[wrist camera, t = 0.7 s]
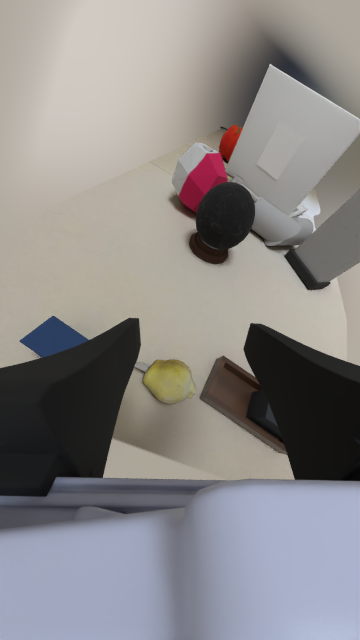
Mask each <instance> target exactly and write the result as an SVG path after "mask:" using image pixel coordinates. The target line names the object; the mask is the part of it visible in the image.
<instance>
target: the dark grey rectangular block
mask: <svg viewBox="0 0 360 640" xmlns="http://www.w3.org/2000/svg"><path fill="white" fill-rule="evenodd" d="M246 417H247V418H248V419H250V420H251V421H253V422H254V423H256V424H257V425H259V426H260V427H262V428H263V429H264V430H266V431H267V432H269V433H270V434H272V435H273V436H275V437H276V438H279V439H282V437H281V434H280V431H279V428H278V426H277V423H276V420H275V418H274V415H273V413H272V410H271V408H270V405H269V403H268V400H267V398H266V396H265V394H264V392H263V390H262V391H254V392H252V396H251V399H250V403H249V407H248V411H247V415H246Z"/></svg>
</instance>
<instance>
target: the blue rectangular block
mask: <svg viewBox="0 0 360 640" xmlns="http://www.w3.org/2000/svg"><path fill="white" fill-rule="evenodd" d="M87 341H89V340H88V339H87V338H85V337H84V336H82V335H81V334H79V333H78V332H76V331H75V330H74V329H72V328H71V327H69V326H68V325H66V324H65V323H63V322H62V321H60V320H59V319H58V318H56V317H55V316H52V317H51V318H49V319H48V320H47V321H45V322H44V323H43V324H41V325H40V326H39V327H37V328H36V329H35V330H33V331H32V332H31V333H29V334H28V335H27V336H25V337H24V338H23V339H21V340H20V342H21V343H23V344H24V345H25V346H27V347H28V348H30V349H31V350H33V351H34V352H35V353H37V354H38V355H40V356H41V357H46V356H50V355H53V354H56V353H58V352H61V351H64V350H67V349H70V348H72V347H75V346H77V345H80V344H82V343H84V342H87Z"/></svg>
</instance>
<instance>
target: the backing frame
mask: <svg viewBox="0 0 360 640" xmlns="http://www.w3.org/2000/svg"><path fill="white" fill-rule="evenodd" d="M254 391H262V388H261V386H260V384H259V382H258V380H257V379H256V378H255V377H254V376H253V375H251V374H250V373H248V372H247V371H245V370H244V369H242V368H241V367H239V366H238V365H236V364H235V363H233V362H232V361H230V360H229V359H227V358H226V357H224V356H222V357H220V358H218V359H217V360H216V362H215V364H214V366H213V369H212V371H211V373H210V376H209V378H208V380H207V382H206V385H205V387H204V389H203V392H202V394H201V396H200V399H202V400H203V401H204V402H206V403H207V404H209V405H210V406H212V407H213V408H215V409H216V410H218V411H219V412H221V413H222V414H223V415H225V416H226V417H228V418H229V419H231V420H232V421H234V422H235V423H237V424H238V425H240V426H241V427H242V428H244V429H245V430H247V431H248V432H250V433H251V434H253V435H254V436H256V437H257V438H258V439H260V440H261V441H263V442H264V443H266V444H267V445H269V446H270V447H272V448H273V449H275V450H276V451H277V452H279V453H282V454H286V455H287V452H286V449H285V446H284V443H283V440H282V439H279V438H276V437H275V436H273V435H272V434H270V433H269V432H267V431H266V430H264V429H263V428H262V427H260V426H259V425H257V424H256V423H254V422H253V421H251V420H250V419H248V418H247V417H246V415H247V411H248V407H249V403H250V399H251V396H252V392H254Z"/></svg>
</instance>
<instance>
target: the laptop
mask: <svg viewBox="0 0 360 640" xmlns="http://www.w3.org/2000/svg"><path fill="white" fill-rule="evenodd" d="M359 134H360V119H359V118H357V117H355V116H354V115H352V114H350V113H349V112H347V111H346V110H344V109H342V108H341V107H339V106H337V105H336V104H334V103H333V102H331V101H329V100H328V99H326V98H324V97H323V96H321V95H319V94H318V93H316V92H315V91H313V90H311V89H310V88H308V87H307V86H305V85H303V84H302V83H300V82H298V81H297V80H295V79H293V78H292V77H290V76H289V75H287V74H285V73H284V72H282V71H280V70H279V69H277V68H275V67H274V66H272V65H271V64H270V66H269V68H268V70H267V73H266V75H265V77H264V80H263V82H262V85H261V87H260V89H259V92H258V94H257V96H256V99H255V101H254V104H253V106H252V109H251V111H250V113H249V115H248V118H247V120H246V122H245V125H244V127H243V129H242V132H241V134H240V137H239V139H238V141H237V144H236V146H235V148H234V151H233V153H232V155H231V158H230V160H229V162H228V165H227V167H226V169H225V171H227V172H229V173H230V174H232V175H234V176H235V177H237V178H238V179H237V182H236V183H238V184H240V185H242V186H244V187H245V188H246V189H247V190H248V191H249V192H250V194H251V196H252V198H253V200H254V202H257V201H258V199H259V198H261V197H263V198H264V199H265V200H267V201H268V202H270V203H271V204H272V205H274V206H275V207H276V208H278V209H279V210H281V211H282V212H283V213H285V214H286V215H288V216H289V217H290V218H292V217H295V216H298V215H300V214H302V213H304V212H306V210H307V208H305V207H304V206H303V205H302V204H300V203H301V202H302V201H303V199H304V198H305V197H306V196H307V195H308V194H309V192H310V191H311V190H312V189H313V188H314V187H315V185H316V184H317V183H318V182H319V181H320V179H321V178H322V177H323V176H324V175H325V174H326V173H327V171H328V170H329V169H330V168H331V167H332V166H333V164H334V163H335V162H336V161H337V160H338V159H339V157H340V156H341V155H342V154H343V153H344V151H345V150H346V149H347V148H348V147H349V146H350V144H351V143H352V142H353V141H354V140H355V139H356V138H357V136H358V135H359Z"/></svg>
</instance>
